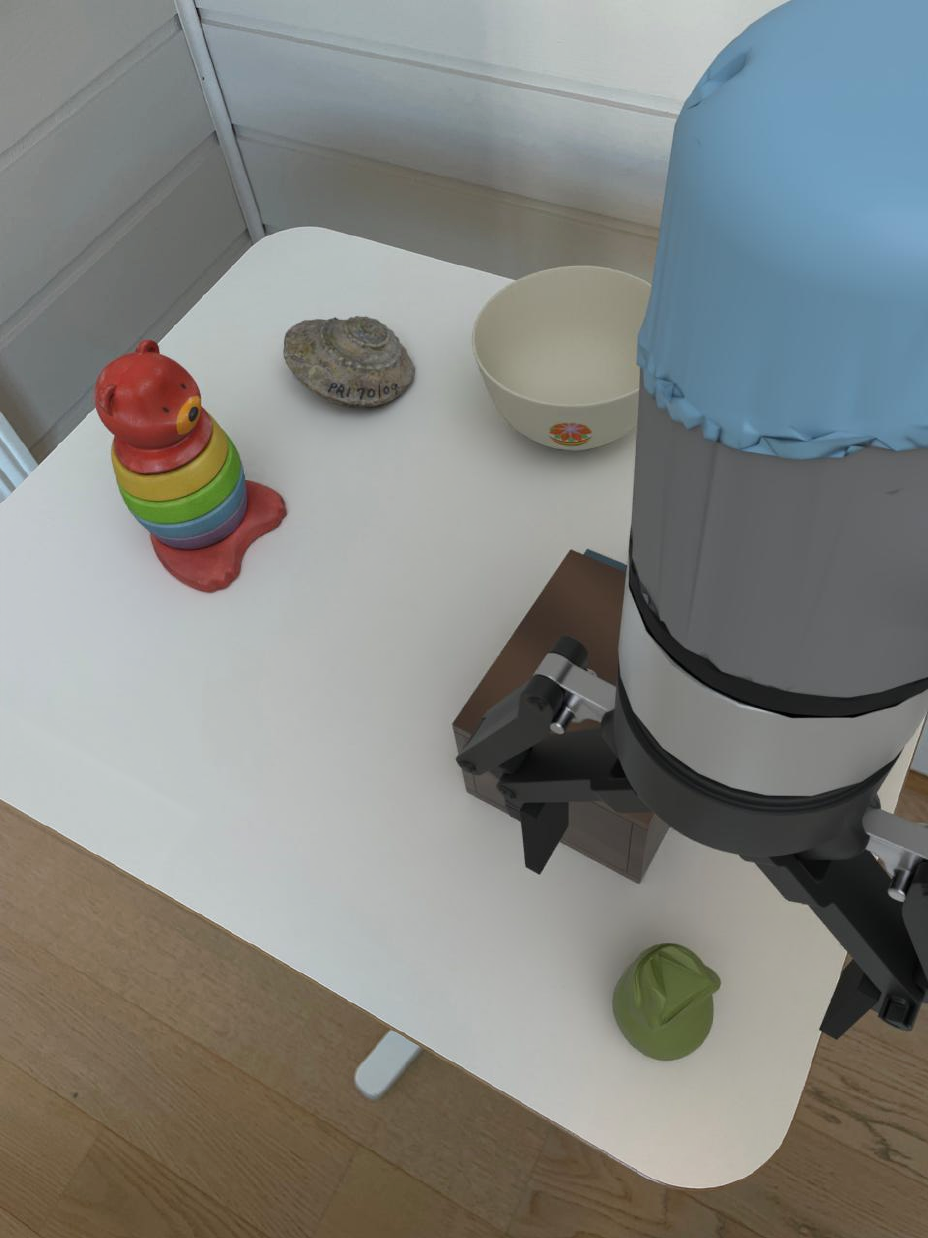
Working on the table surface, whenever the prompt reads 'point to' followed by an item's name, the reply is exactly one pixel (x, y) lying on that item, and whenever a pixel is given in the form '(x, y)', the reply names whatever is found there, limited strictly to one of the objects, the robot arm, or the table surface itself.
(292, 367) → the fossilized seashell
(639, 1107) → the table surface
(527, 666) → the cabinet
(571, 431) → the bowl
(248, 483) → the stacking bear
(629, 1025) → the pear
